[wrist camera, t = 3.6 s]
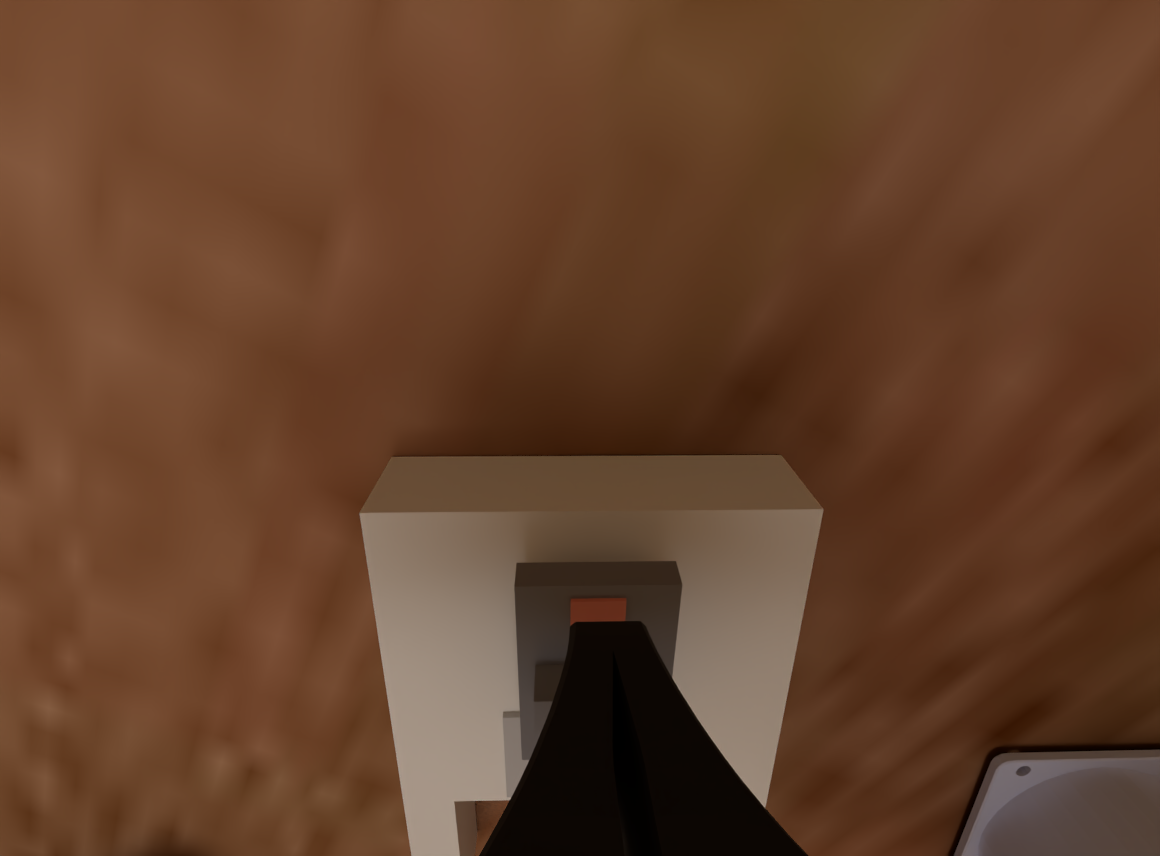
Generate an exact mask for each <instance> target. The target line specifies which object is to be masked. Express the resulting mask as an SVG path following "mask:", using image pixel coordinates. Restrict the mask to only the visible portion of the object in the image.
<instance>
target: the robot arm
mask: <svg viewBox="0 0 1160 856" xmlns="http://www.w3.org/2000/svg"><path fill="white" fill-rule="evenodd" d="M479 856H808V855H807V854H806V853H805V852H804V851H803V850H802V849H801V847H800V846H799V845H798V844H797V843H796V842H795V841H794V840H793V839H792V838H791V837H790V836H789V835H788V834H787V833H786V831H785V830H784V829H783V828H782V827H781V826H780V825H779V823H778V822H777V821H776V820H775V819H774V818H773V817H772V815H771V814H770V813H769V812H768V811H767V810H766V809H765V808H764V806H763V805H762V804H761V803H760V801H759V800H758V799H757V798H756V797H755V795H754V794H753V793H752V792H751V791H750V789H749V788H748V787H747V786H746V784H745V783H744V782H743V781H742V779H741V778H740V777H739V776H738V774H737V773H736V772H735V770H734V769H733V768H732V766H731V765H730V764H729V763H728V761H727V760H726V759H725V757H724V756H723V754H722V753H721V752H720V750H719V749H718V747H717V746H716V745H715V743H714V742H713V740H712V739H711V738H710V736H709V735H708V733H707V732H706V731H705V729H704V728H703V726H702V725H701V723H700V722H699V720H698V719H697V717H696V716H695V714H694V712H693V711H692V709H691V708H690V706H689V705H688V703H687V701H686V700H685V698H684V697H683V695H682V693H681V692H680V690H679V689H678V687H677V685H676V684H675V682H674V680H673V678H672V677H671V675H670V673H669V671H668V670H667V668H666V666H665V664H664V662H663V661H662V659H661V657H660V655H659V653H658V651H657V649H656V647H655V645H654V643H653V641H652V639H651V637H650V634H649V632H648V630H647V627H646V626H645V625H644V624H643V623H642V622H641V621H594V622H575V623H574V624H572V625H571V626H570V632H569V642H568V649H567V654H566V658H565V663H564V666H563V670H562V674H561V677H560V681H559V684H558V687H557V690H556V693H555V696H554V699H553V702H552V705H551V708H550V711H549V713H548V716H547V719H546V721H545V724H544V726H543V729H542V731H541V733H540V736H539V738H538V741H537V743H536V746H535V748H534V750H533V753H532V755H531V757H530V760H529V762H528V764H527V766H526V768H525V771H524V773H523V775H522V777H521V779H520V781H519V783H518V785H517V787H516V789H515V791H514V793H513V795H512V797H511V799H510V801H509V803H508V805H507V807H506V809H505V811H504V813H503V814H502V816H501V818H500V820H499V821H498V823H497V825H496V827H495V829H494V830H493V832H492V834H491V836H490V838H489V839H488V841H487V843H486V845H485V847H484V848H483V850H482V852H481V853H480V855H479ZM954 856H1160V749H1158V750H1113V751H1069V752H1024V753H1002V754H999V755H997V756H996V757H994V758H993V759H992V761H991V762H990V765H989V767H988V770H987V773H986V775H985V778H984V780H983V783H982V785H981V788H980V790H979V793H978V795H977V798H976V800H975V803H974V805H973V808H972V811H971V813H970V816H969V818H968V821H967V823H966V826H965V828H964V831H963V833H962V836H961V838H960V841H959V843H958V846H957V849H956V851H955V854H954Z"/></svg>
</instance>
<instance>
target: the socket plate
mask: <svg viewBox="0 0 1160 856" xmlns="http://www.w3.org/2000/svg"><path fill="white" fill-rule="evenodd" d="M823 510H824V509H823V508H822V507H821V505H820V504H819V503H818V501H817V500H816V499H815V498H814V496H813V495H812V494H811V492H810V491H809V490H808V489H807V487H806V486H805V485H804V484H803V482H802V481H801V480H800V478H799V477H798V476H797V475H796V473H795V472H794V471H793V469H792V468H791V467H790V466H789V464H788V463H787V462H786V460H785V459H784V458H783V457H782V455H663V456H436V457H391V459H390V461H389V462H388V464H387V466H386V468H385V469H384V471H383V473H382V475H381V476H380V478H379V480H378V481H377V483H376V485H375V487H374V488H373V490H372V492H371V494H370V495H369V497H368V499H367V501H366V502H365V504H364V506H363V508H362V509H361V511H360V520H361V526H362V533H363V539H364V546H365V552H366V559H367V566H368V572H369V579H370V585H371V592H372V598H373V605H374V612H375V618H376V625H377V631H378V638H379V645H380V651H381V658H382V664H383V671H384V677H385V684H386V691H387V697H388V704H389V710H390V717H391V724H392V730H393V737H394V743H395V750H396V756H397V763H398V770H399V776H400V783H401V789H402V796H403V802H404V809H405V816H406V822H407V829H408V835H409V842H410V849H411V855H412V856H475V848H476V840H477V822H476V810H475V801H491V800H510V799H511V797H512V795H513V793H514V791H515V789H516V787H517V785H518V783H519V781H520V779H521V777H522V775H523V773H524V771H525V768H526V766H527V764H528V762H529V760H522V751H521V729H520V706H519V683H518V660H517V637H516V614H515V592H514V584H515V574H516V563H532V562H626V561H676V563H677V567H678V570H679V574H680V577H681V581H682V593H681V602H680V611H679V620H678V629H677V638H676V647H675V656H674V665H673V674H672V678H673V680H674V682H675V684H676V685H677V687H678V689H679V690H680V692H681V693H682V695H683V697H684V698H685V700H686V701H687V703H688V705H689V706H690V708H691V709H692V711H693V712H694V714H695V716H696V717H697V719H698V720H699V722H700V723H701V725H702V726H703V728H704V729H705V731H706V732H707V733H708V735H709V736H710V738H711V739H712V740H713V742H714V743H715V745H716V746H717V747H718V749H719V750H720V752H721V753H722V754H723V756H724V757H725V759H726V760H727V761H728V763H729V764H730V765H731V766H732V768H733V769H734V770H735V772H736V773H737V774H738V776H739V777H740V778H741V779H742V781H743V782H744V783H745V784H746V786H747V787H748V788H749V789H750V791H751V792H752V793H753V794H754V795H755V797H756V798H757V799H758V800H759V801H760V803H761V804H762V805H763V806H764V808H765V807H766V802H767V796H768V791H769V786H770V781H771V776H772V771H773V766H774V761H775V755H776V750H777V745H778V740H779V735H780V730H781V725H782V720H783V714H784V709H785V704H786V699H787V694H788V689H789V684H790V679H791V674H792V668H793V663H794V658H795V653H796V648H797V643H798V638H799V633H800V627H801V622H802V617H803V612H804V607H805V602H806V597H807V592H808V586H809V581H810V576H811V571H812V566H813V561H814V556H815V551H816V545H817V540H818V535H819V530H820V525H821V520H822V515H823Z"/></svg>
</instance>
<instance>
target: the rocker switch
mask: <svg viewBox="0 0 1160 856" xmlns="http://www.w3.org/2000/svg"><path fill="white" fill-rule="evenodd" d="M514 592H515V614H516V637H517V660H518V683H519V706H520V729H521V751H522V760H530V757H531V755H532V753H533V750H534V748H535V746H536V743H537V741H538V738H539V736H540V733H541V731H542V729H543V726H544V724H545V721H546V719H547V716H548V713H549V711H550V708H551V705H552V702H553V699H554V696H555V693H556V690H557V687H558V684H559V681H560V677H561V674H562V670H563V666H564V663H565V658H566V654H567V649H568V642H569V632H570V626H571V625H572V624H574V623H575V622H594V621H641V622H642V623H643V624H644V625H645V626H646V627H647V630H648V632H649V634H650V637H651V639H652V641H653V643H654V645H655V647H656V649H657V651H658V653H659V655H660V657H661V659H662V661H663V662H664V664H665V666H666V668H667V670H668V671H669V673H670V675H671V677H672V674H673V665H674V656H675V647H676V638H677V629H678V620H679V611H680V602H681V593H682V581H681V577H680V574H679V570H678V567H677V563H676V561H626V562H532V563H516V574H515V584H514Z"/></svg>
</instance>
